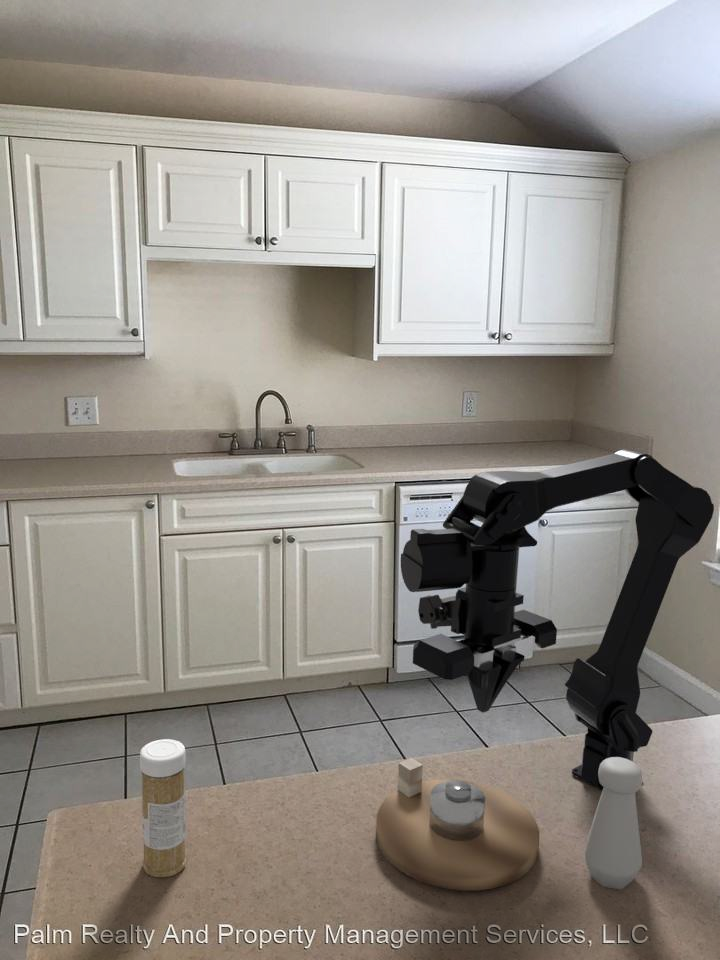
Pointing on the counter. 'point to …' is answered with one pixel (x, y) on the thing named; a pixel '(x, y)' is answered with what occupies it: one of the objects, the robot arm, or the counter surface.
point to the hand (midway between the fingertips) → (482, 710)
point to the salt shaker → (615, 826)
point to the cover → (457, 810)
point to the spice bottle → (163, 807)
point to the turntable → (448, 862)
